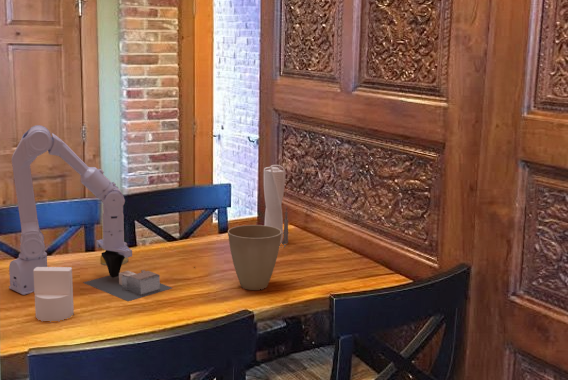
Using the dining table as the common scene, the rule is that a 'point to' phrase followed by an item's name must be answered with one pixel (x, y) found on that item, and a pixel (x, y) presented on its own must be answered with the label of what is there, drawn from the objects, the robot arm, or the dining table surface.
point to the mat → (118, 288)
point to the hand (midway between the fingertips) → (114, 276)
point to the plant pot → (254, 254)
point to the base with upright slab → (53, 293)
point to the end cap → (141, 283)
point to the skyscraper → (275, 200)
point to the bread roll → (106, 264)
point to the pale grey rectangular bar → (124, 274)
